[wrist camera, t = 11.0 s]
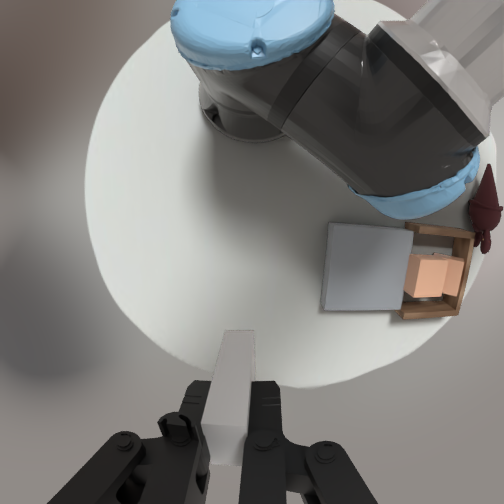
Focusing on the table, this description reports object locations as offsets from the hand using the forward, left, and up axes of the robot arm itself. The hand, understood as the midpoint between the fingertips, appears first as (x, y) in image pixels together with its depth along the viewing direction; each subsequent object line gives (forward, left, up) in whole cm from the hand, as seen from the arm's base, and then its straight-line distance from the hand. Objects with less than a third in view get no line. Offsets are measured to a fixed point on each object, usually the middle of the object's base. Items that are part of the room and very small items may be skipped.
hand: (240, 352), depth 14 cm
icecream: (-10, +38, -26) cm, 47 cm away
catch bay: (+2, +29, -26) cm, 39 cm away
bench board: (+2, +16, -26) cm, 31 cm away
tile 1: (+2, +25, -23) cm, 34 cm away
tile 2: (+2, +30, -22) cm, 37 cm away
